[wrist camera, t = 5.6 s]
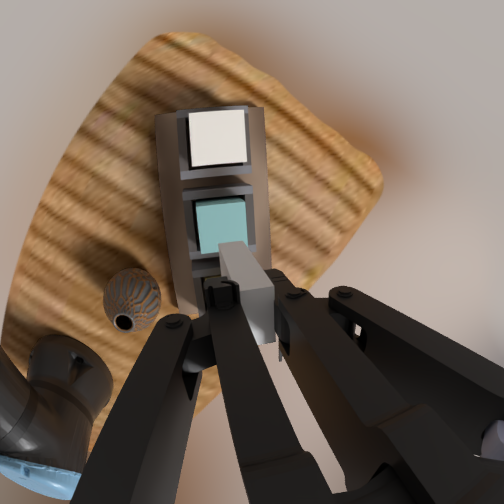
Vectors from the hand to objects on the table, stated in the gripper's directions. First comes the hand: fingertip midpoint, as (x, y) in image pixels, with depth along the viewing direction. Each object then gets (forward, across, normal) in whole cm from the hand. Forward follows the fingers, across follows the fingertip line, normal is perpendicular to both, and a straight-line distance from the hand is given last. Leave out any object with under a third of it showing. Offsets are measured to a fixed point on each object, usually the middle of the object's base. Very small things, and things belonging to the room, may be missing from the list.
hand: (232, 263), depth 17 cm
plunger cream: (+12, +1, +8) cm, 14 cm away
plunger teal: (+14, +1, 0) cm, 14 cm away
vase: (+17, -10, -8) cm, 21 cm away
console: (+16, +1, 0) cm, 16 cm away
